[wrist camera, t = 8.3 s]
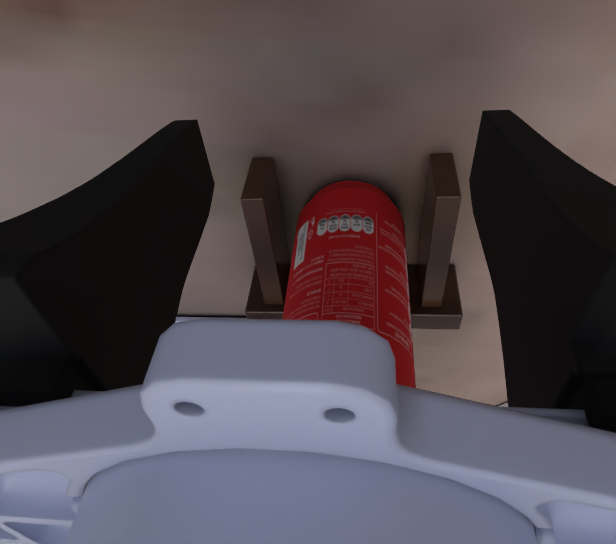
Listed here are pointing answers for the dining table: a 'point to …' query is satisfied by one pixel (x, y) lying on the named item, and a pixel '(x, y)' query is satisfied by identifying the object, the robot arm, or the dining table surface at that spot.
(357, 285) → the beverage can
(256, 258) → the can holder
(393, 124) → the dining table surface
